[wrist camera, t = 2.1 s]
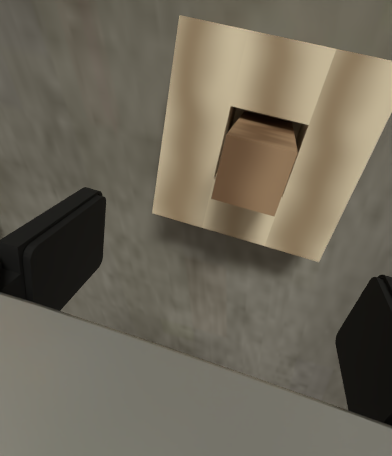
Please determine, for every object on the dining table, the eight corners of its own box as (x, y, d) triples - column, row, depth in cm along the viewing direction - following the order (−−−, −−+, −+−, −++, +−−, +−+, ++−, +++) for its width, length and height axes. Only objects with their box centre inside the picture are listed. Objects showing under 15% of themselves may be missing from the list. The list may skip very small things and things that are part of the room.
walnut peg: (292, 122, 28) (297, 152, 19) (276, 168, 30) (274, 216, 21) (244, 110, 29) (226, 134, 19) (232, 156, 31) (210, 198, 21)
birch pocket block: (387, 65, 25) (414, 65, 20) (313, 231, 33) (318, 262, 28) (198, 24, 27) (179, 15, 22) (171, 191, 35) (152, 213, 30)
